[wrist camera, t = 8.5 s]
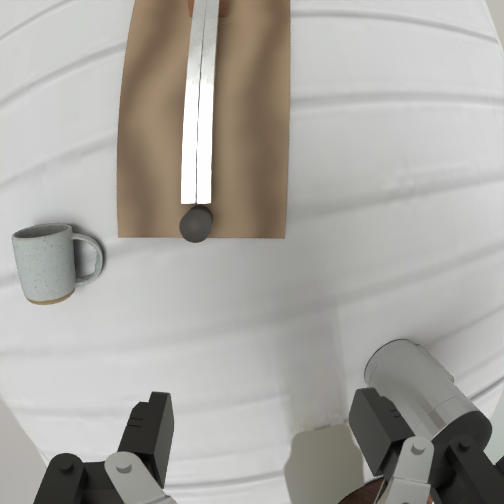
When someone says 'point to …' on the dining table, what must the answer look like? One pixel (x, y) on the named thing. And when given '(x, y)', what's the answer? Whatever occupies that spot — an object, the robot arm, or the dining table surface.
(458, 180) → the dining table surface
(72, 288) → the ceramic mug
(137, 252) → the dining table surface
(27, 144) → the dining table surface
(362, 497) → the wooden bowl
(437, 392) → the robot arm
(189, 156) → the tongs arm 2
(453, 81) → the dining table surface
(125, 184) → the walnut board
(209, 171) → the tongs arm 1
